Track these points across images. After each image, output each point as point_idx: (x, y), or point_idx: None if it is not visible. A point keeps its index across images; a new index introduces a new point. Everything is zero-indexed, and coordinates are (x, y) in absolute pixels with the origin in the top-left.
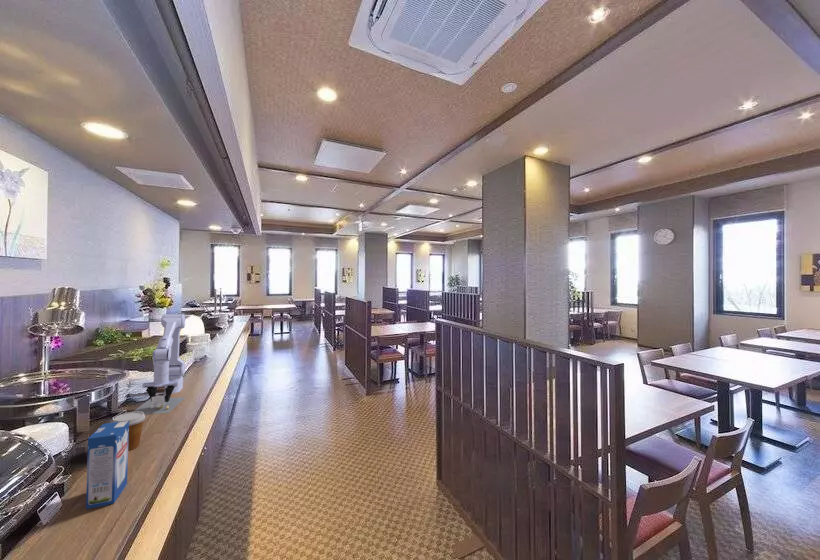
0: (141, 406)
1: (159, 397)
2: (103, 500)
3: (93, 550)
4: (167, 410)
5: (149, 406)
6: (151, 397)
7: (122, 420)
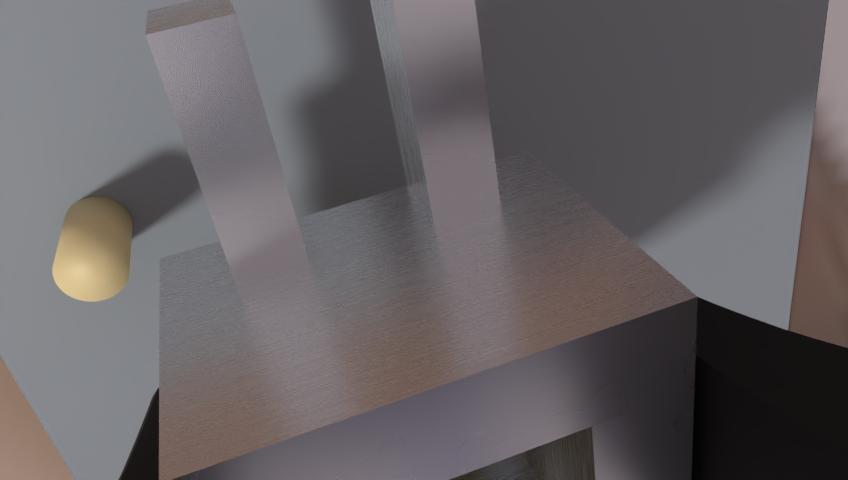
0: (769, 277)
1: (378, 372)
2: None
3: None
4: (23, 160)
5: None
6: (700, 325)
7: None
